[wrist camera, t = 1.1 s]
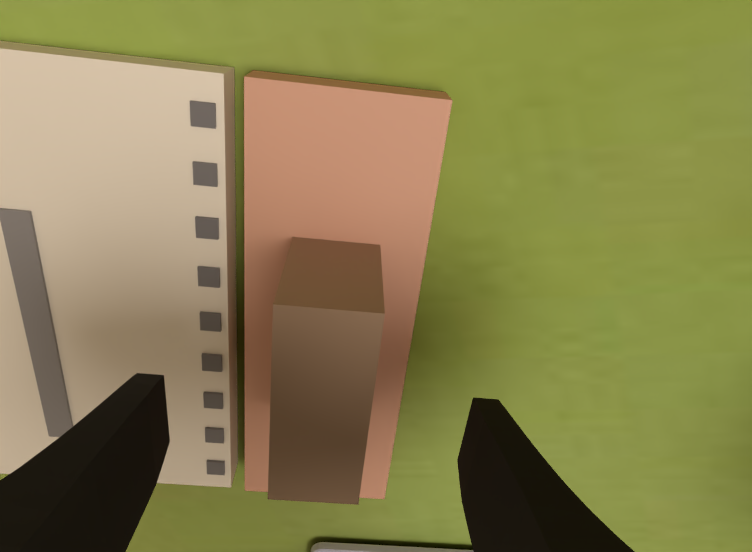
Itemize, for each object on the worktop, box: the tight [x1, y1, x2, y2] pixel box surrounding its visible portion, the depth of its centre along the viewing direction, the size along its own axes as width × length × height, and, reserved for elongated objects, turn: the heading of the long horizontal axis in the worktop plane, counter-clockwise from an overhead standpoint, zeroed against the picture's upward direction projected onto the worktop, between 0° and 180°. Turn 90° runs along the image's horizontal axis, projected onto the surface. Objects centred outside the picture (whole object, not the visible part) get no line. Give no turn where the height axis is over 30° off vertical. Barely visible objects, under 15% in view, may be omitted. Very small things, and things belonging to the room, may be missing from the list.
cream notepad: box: [0, 41, 238, 487], centre depth 16 cm, size 14×12×1 cm
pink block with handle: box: [244, 70, 452, 504], centre depth 15 cm, size 14×5×5 cm, turn 174°
